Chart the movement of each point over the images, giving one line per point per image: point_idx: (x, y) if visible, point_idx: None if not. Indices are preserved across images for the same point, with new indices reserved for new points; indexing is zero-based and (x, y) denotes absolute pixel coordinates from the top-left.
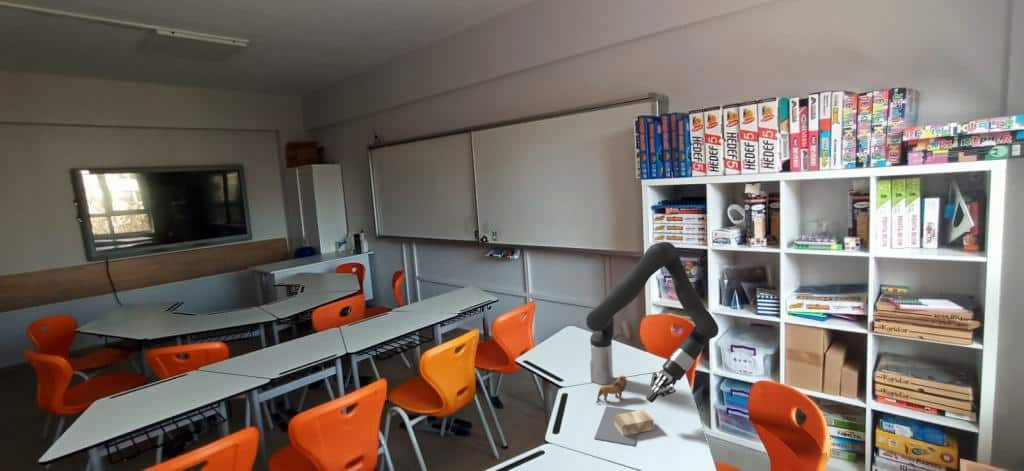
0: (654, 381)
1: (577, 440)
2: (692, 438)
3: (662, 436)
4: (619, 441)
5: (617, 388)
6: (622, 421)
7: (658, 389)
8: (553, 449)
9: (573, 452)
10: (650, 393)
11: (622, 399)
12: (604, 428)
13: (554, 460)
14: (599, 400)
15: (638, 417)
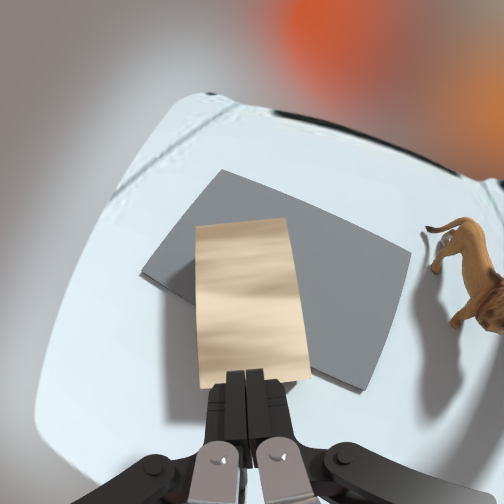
0: (387, 500)
1: (230, 139)
2: None
3: (164, 401)
4: (178, 229)
5: (481, 288)
6: (225, 234)
7: (192, 488)
8: (213, 104)
9: (187, 129)
10: (255, 409)
11: (454, 327)
12: (266, 205)
13: (178, 105)
14: (442, 242)
15: (238, 318)
